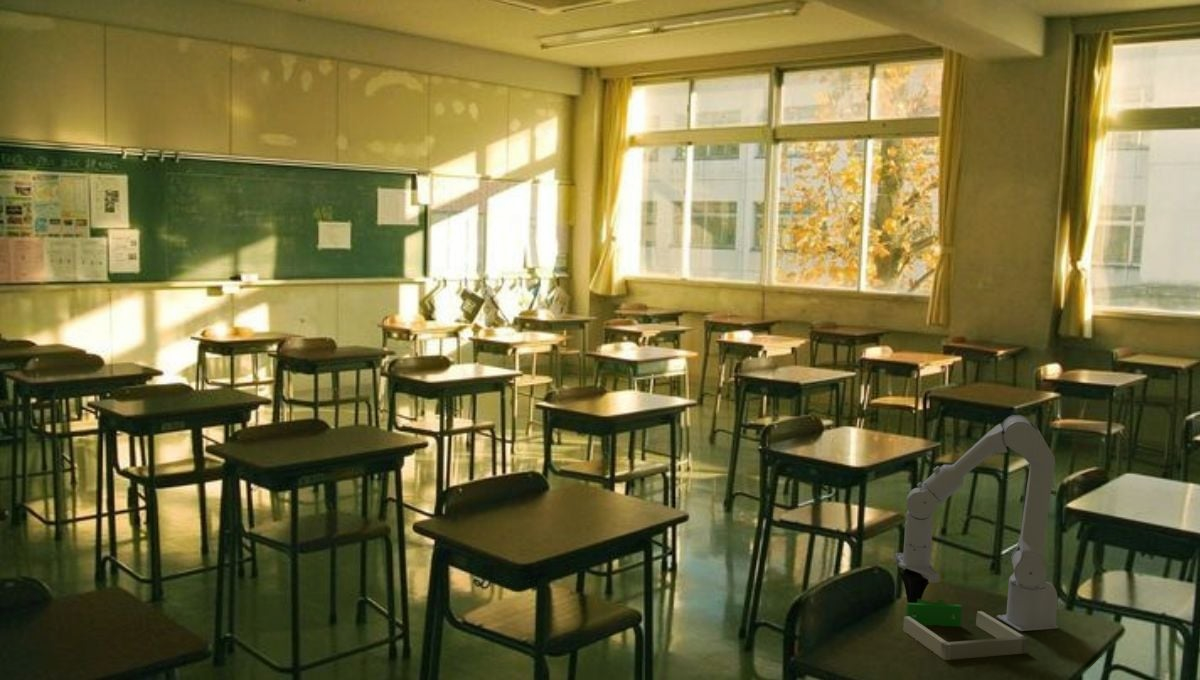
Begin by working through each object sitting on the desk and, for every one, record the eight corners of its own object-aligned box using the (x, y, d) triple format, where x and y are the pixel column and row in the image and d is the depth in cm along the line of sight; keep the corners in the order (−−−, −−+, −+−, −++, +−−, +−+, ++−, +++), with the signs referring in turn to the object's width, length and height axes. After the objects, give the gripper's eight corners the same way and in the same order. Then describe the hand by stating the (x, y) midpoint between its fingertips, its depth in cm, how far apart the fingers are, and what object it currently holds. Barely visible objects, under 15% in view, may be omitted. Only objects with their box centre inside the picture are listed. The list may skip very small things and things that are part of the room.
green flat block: (954, 621, 217) (956, 600, 216) (960, 627, 213) (962, 606, 212) (901, 618, 217) (903, 597, 216) (906, 625, 213) (908, 603, 213)
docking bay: (980, 624, 214) (981, 611, 214) (1026, 653, 200) (1027, 638, 200) (903, 630, 209) (904, 616, 209) (944, 660, 195) (945, 645, 195)
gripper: (883, 534, 227) (880, 593, 228) (919, 554, 213) (915, 617, 214) (912, 533, 229) (908, 591, 230) (949, 553, 215) (945, 615, 216)
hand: (913, 604), depth 222 cm, fingers closed
